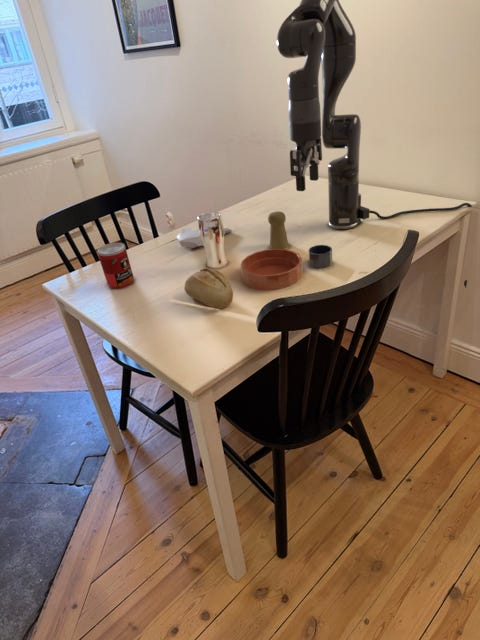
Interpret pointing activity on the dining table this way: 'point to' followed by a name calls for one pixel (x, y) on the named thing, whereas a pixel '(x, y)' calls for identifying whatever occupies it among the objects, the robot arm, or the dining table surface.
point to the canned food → (115, 265)
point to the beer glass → (212, 238)
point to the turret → (192, 237)
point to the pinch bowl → (320, 256)
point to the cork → (277, 230)
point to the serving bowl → (272, 269)
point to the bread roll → (210, 288)
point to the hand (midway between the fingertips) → (307, 185)
